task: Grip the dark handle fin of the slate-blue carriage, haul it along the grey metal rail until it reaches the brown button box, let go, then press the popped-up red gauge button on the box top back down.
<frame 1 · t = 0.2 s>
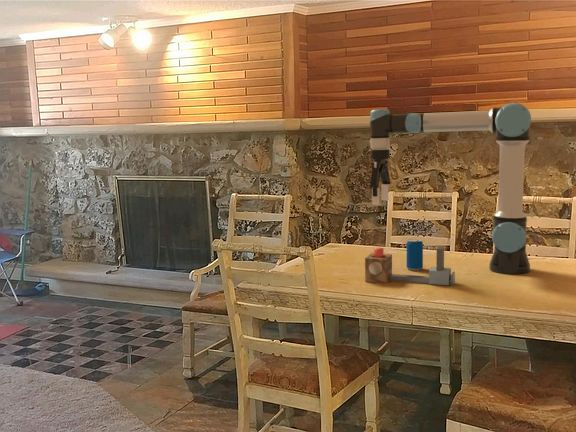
hand: (380, 202, 246), 28 cm above the table, fingers open, 13 cm apart
brown button box: (378, 279, 235), on the table
beverage can: (414, 269, 250), on the table
gauge button: (378, 255, 234), point 9 cm above the table, slide at 0.0 cm
rail: (421, 282, 229), on the table
carriage: (440, 265, 226), point 7 cm above the table, slide at 0.0 cm
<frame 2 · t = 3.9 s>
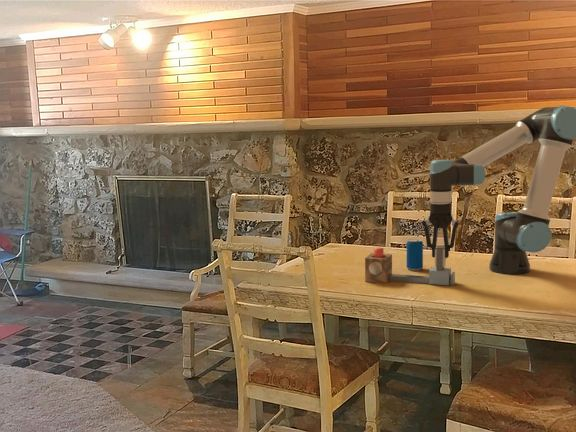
hand: (440, 266, 226), 6 cm above the table, fingers closed on carriage, 2 cm apart
carriage: (440, 265, 226), point 7 cm above the table, slide at 0.0 cm, touching gripper
everything else where it was.
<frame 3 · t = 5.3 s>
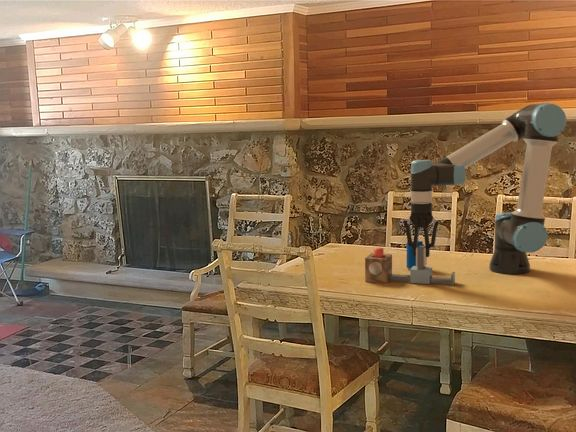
hand: (421, 265, 229), 6 cm above the table, fingers closed on carriage, 2 cm apart
carriage: (421, 264, 228), point 7 cm above the table, slide at 6.9 cm, touching gripper
everything else where it was.
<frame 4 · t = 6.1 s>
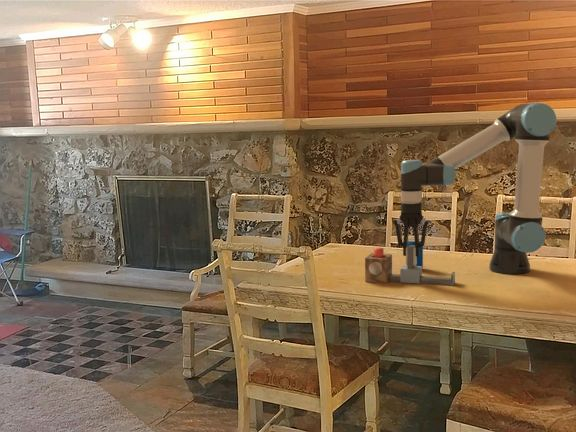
hand: (411, 264, 230), 6 cm above the table, fingers closed on carriage, 2 cm apart
carriage: (411, 263, 230), point 7 cm above the table, slide at 10.6 cm, touching gripper
everything else where it was.
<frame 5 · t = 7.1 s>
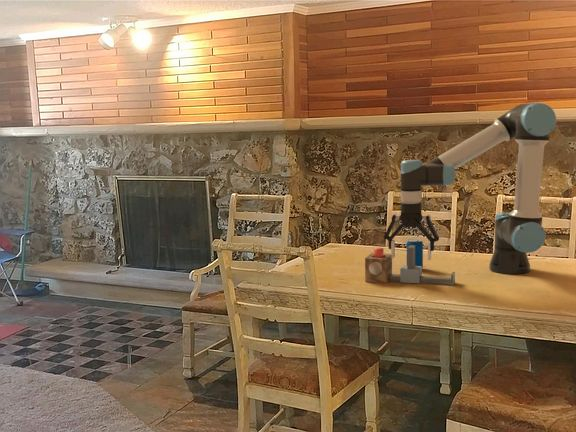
hand: (411, 258, 230), 9 cm above the table, fingers open, 13 cm apart
carriage: (411, 263, 230), point 7 cm above the table, slide at 10.6 cm
everything else where it was.
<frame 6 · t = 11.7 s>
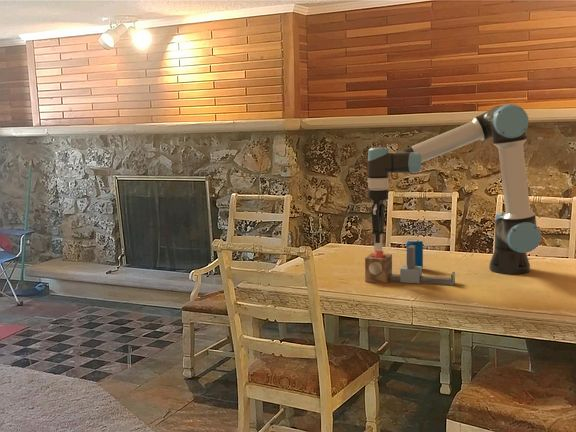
hand: (378, 250, 234), 11 cm above the table, fingers closed
gauge button: (378, 258, 234), point 8 cm above the table, slide at 1.2 cm, touching gripper
everything else where it was.
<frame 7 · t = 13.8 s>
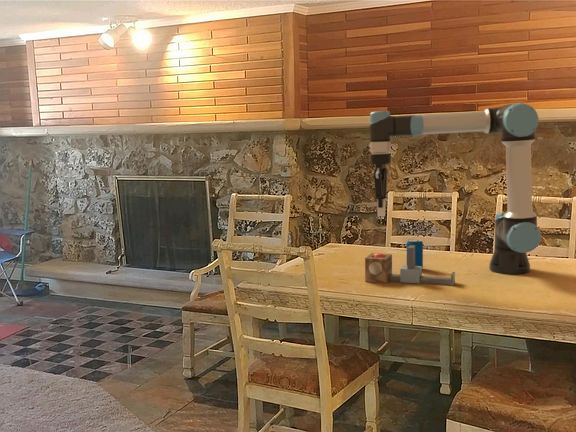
hand: (381, 215, 232), 24 cm above the table, fingers closed
gauge button: (378, 261, 234), point 7 cm above the table, slide at 2.2 cm
everything else where it was.
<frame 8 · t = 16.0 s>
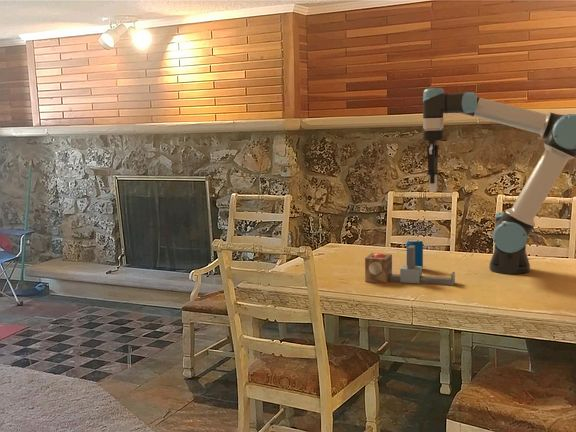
hand: (432, 191, 237), 32 cm above the table, fingers closed
nothing on the table moved.
at the end: carriage slide at 10.6 cm; gauge button slide at 2.2 cm; the gripper is holding nothing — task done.
